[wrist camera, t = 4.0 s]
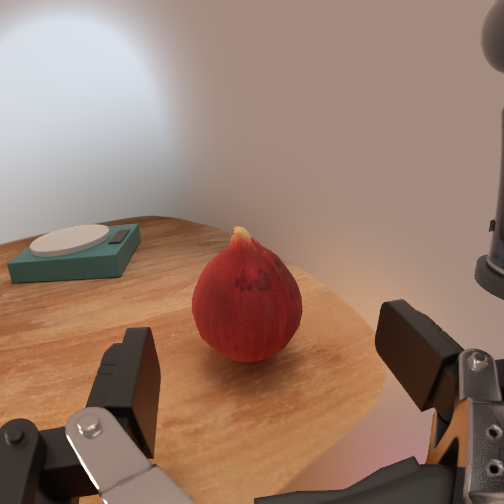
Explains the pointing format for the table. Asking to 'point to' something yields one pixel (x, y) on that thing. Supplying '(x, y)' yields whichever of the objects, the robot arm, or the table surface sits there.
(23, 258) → the scale
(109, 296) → the table surface
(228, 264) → the onion
